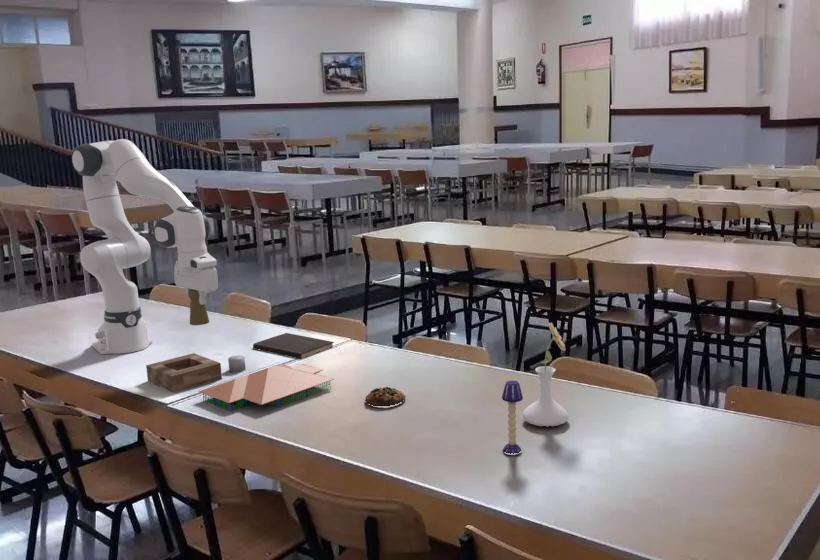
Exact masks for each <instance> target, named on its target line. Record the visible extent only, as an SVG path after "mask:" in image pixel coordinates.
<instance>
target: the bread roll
mask: <svg viewBox="0 0 820 560" xmlns="http://www.w3.org/2000/svg"><path fill="white" fill-rule="evenodd" d="M403 400H405V401H406V395H405V394H404V392H402V391H401V390H400V389H397V388H396V387H388V386H385V387H376V388H374V389H372V390H371V391H370V392H369V393H368V394H367V395H366V396H365V399H364V402H365V401H366V403H367V404H370V405H373V406H390V405H395V404H398V403H400V402H402V401H403ZM366 403H365V404H366ZM402 403H403V402H402ZM367 404H366V405H367ZM373 406H372V407H373Z"/></svg>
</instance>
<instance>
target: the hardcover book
mask: <svg viewBox="0 0 820 560" xmlns="http://www.w3.org/2000/svg"><path fill="white" fill-rule="evenodd" d="M334 343H335V342H334V341H330V340H326V339H320V338H315V337H310V336H304V335H299V334H295V333H289V332H285V333H281V334H278V335H276V336H273V337H269V338H266V339H263V340H259V341H256V342H255V343H253V345H252V348H255V349H254V350H257V349H260V350H259V351H262V350H263V352H267V353H271V352H272V353H271V354H276V353H277V355H281V354H282V355H281V356H285V355H287V357H290V356H291V357H290V358H294V357H296V358H295V359H299V358H301V359H303V357H304V358H306V356H307V357H309V356H311V354H312V355H314V353H315V354H316V352H318V353H319V351H320V352H323V351H325V349H326V350H328V349H327V348H329V349H330V347H331V348H333V347H334V346H333V345H334ZM322 350H323V351H322ZM308 355H309V356H308Z"/></svg>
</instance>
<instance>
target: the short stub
mask: <svg viewBox="0 0 820 560" xmlns="http://www.w3.org/2000/svg"><path fill="white" fill-rule="evenodd" d="M227 360H228V370H229V372H230V373H241V371H242V372H244V371H245V370H246V362H245V361H246V360H245V356H244V355H239V354H238V355H231V356H229V357H228V359H227Z"/></svg>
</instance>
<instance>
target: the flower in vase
mask: <svg viewBox="0 0 820 560" xmlns="http://www.w3.org/2000/svg"><path fill="white" fill-rule="evenodd" d="M548 328H549V331H550V332H551V335H552V337H551V339H550V341H549V343H548V344H547V347H546V349H545V350H546V351H545V353H544V354H545V357H544V360H543V361H542V362H540V364H544V366H543V365H542V366H538V367H536V368H535V372H536V374H537V376H538V377H539V381H540V382H539V383H540V395H539V398H538V399H537V400H535V401H534V402H533V403H531V404H529V405H528V406H527V407H526V408H525V409H524V410H523V413H522V415H521V416H522V418H523V420H524V421H525V422H526V423H529V424H531V425H534V426H538V427H543V426H546V427H547V428H548V427H549V426H551V427H556V426H557V427H558V426H559V425H563V424H565V423H566V422H567V421H568V419H569V418H570V417H569V414H568V411H567V410H566V409H565V408H564V407H563V406H562V405H560V404H559V403H557V402H556V401H555V399H553V398H552V396H551V383H552V382H551V381H552V377H553V376H554V373H555V372H556V370H557V369H556V368H555V367H552V366H547V364H548V363H549V362H551V361H552V359H553V357H552V355H551V352H550V351H549V349H550V346H551V345H552V342H553V341H554V342H555V343H556V345H558V348H559V349H560V350H561V351H563V352H564V351H566V350H567V349H566V344H565V343H564V341H563V340H562V339H563V338H562V336H561V335H560V334H559V333H558V329H557V327H556V326H555V327H554V323H553V322H548Z"/></svg>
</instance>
